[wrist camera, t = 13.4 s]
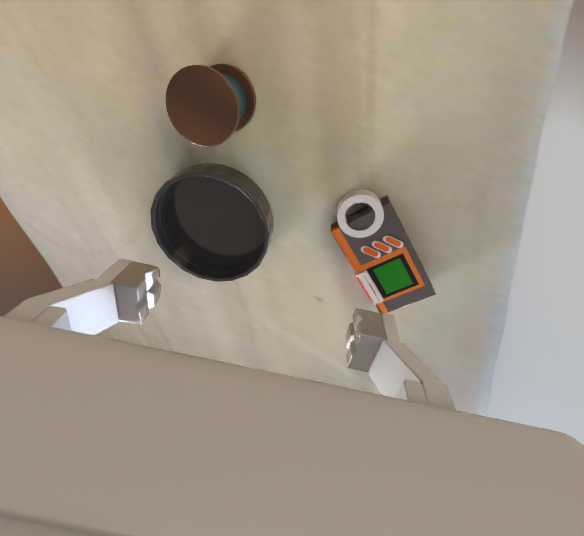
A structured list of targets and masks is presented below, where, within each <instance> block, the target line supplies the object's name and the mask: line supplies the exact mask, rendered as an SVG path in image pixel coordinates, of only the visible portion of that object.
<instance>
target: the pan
mask: <svg viewBox="0 0 584 536" xmlns="http://www.w3.org/2000/svg"><path fill="white" fill-rule="evenodd" d="M151 226H152V230H153V233H154V235H155V238H156V240H157V243H158V245H159V246H160V247H161V249H162V250H163V251H164V253H165V254H166V255H167V257H168V258H169V259H170V260H171V261H172V262H174V263H175V264H176V265H177V266H179V267H180V268H181V269H182V270H184V271H186V272H188V273H190V274H192V275H194V276H196V277H198V278H202V279H207V280H212V281H232V280H235V279H238V278H241V277H244V276H247V275H248V274H249V273H251V272H252V271H253V270H254V269H256V268H257V267H258V266H259V265H260V263H261V262H262V260H263V258H264V257H265V255H266V253H267V250H268V248H269V245H270V242H271V237H272V233H273V216H272V211H271V208H270V205H269V203H268V201H267V198H266V197H265V195H264V194H263V192H262V191H261V189H260V188H259V187H258V186H257V185H256V184H255V183H254V182H253V181H252V180H251V179H250V178H248V177H247V176H246V175H244V174H243V173H241V172H239V171H238V170H235V169H233V168H231V167H227V166H224V165H219V164H199V165H195V166H192V167H189V168H187V169H185V170H183V171H182V172H180V173H178V174H176V175H175V176H174V177H172V178H171V179H170V180H168V181H167V182H166V183H165V184H164V185H163V186H162V188H161V189H160V190H159V191H158V192H157V193H156V195H155V198H154V201H153V204H152V208H151Z"/></svg>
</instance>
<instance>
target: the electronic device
mask: <svg viewBox="0 0 584 536" xmlns="http://www.w3.org/2000/svg"><path fill="white" fill-rule="evenodd" d="M355 203H366V204H368V206H366V207H364V208H362V209H360V210H359V211H357V212H355V213H353V214H351V215H349V216H347V217H346V215H345V213H346V211H347V209H348V208H349V207H350V206H351V205H353V204H355ZM337 220H338V221H337V222H335V223H333V224H331V233H332V234H333V236H334V238H335V239H336V241H337V242H338V244H339V246H340V247H341V249H342V251H343V252H344V254H345V256H346V257H347V259H348V261H349V262H350V264H351V266H352V267H353V269H354V270H355V276H356V277H357V279H358V281H359V282H360V284H361V285H362V287H363V289H364V290H365V292H366V294H367V295H368V297H369V299H370V300H371V302H372V304H375V305H376V307H377V308H378V310H379V312H380V313H387V312H390V311H392V310H395V309H398V308H400V307H405V306H407V305H410V304H412V303H414V302H416V301H419V300H422V299H425V298H427V297H430V296H433V295H435V294H436V293H435V291H434V289H433V286H432V284H431V282H430V280H429V278H428V276H427V274H426V272H425V270H424V268H423V266H422V264H421V262H420V260H419V258H418V256H417V254H416V252H415V250H414V248H413V246H412V244H411V242H410V240H409V238H408V236H407V234H406V232H405V230H404V228H403V226H402V224H401V222H400V220H399V218H398V216H397V214H396V213H395V211H394V209H393V207H392V205H391V203H390V201H389V199H388V197H387V196H386V197H384V198H382V199H379V198H378V196H377V195H376V194H375V193H373V192H371V191H369V190H365V189H357V190H353V191H351V192H349V193H347V194H346V195H345V196H344V197H343V198H342V199H341V201H340V203H339V205H338V211H337Z"/></svg>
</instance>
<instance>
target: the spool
mask: <svg viewBox="0 0 584 536" xmlns="http://www.w3.org/2000/svg"><path fill="white" fill-rule="evenodd" d="M166 108H167V112H168V115H169V118H170V120H171V122H172V124H173V126H174V127H175V129H176V130H177V131H178V132H179V133H180V134H181V135H182V136H183V137H184V138H185V139H187V140H188V141H190V142H191V143H193V144H196V145H199V146H204V147H211V146H216V145H219V144H221V143H223V142H224V141H226V140H227V139H228V138H229V137H231V135H232V134H233V133H234V132H235V131H238V130H240V129H242V128H243V127H244V126H246V125H247V124H248V123H249V122H250V120H251V119H252V117H253V115H254V112H255V108H256V95H255V91H254V88H253V85H252V83H251V81H250V80H249V78H248V77H247V76H246V74H245V73H244V72H242V71H241V70H240V69H238V68H237V67H235V66H232V65H229V64H216V65H213V66H210V67H208V66H204V65H192V66H187V67H184V68H182V69H181V70H179V71H178V72H177V73H176V74H175V75H174V76H173V77H172V79H171V80H170V82H169V84H168V87H167V91H166Z"/></svg>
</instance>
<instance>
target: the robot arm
mask: <svg viewBox="0 0 584 536" xmlns="http://www.w3.org/2000/svg"><path fill="white" fill-rule="evenodd" d="M159 277H160V269H159V268H158V267H156V266H152V265H147V264H143V263H139V262H133V261H129V260H125V259H119V260H118V261H117V262H116V263H114V264H113V265H112V266H111V267H110V268H109V269H108V270H107V271H105V272H104V273H103V274H102V275H101V276H100V277H99V278H98V279H97V280H94V279H91V280H88V281H84V282H81V283H78V284H75V285H71V286H68V287H65V288H61V289H58V290H55V291H52V292H48V293H45V294H42V295H39V296H35V297H32V298H28V299H26V300H24V301H23V302H22V303H20V304H19V305H18V306H16V307H15V308H14V309H12V310H11V311H10V312H8V313H7V314H6V315H4V316H0V536H584V445H583V444H581V443H580V442H579V441H577V440H576V439H574V438H573V437H571V436H569V435H567V434H564V433H561V432H558V431H553V430H549V429H544V428H539V427H534V426H529V425H524V424H519V423H514V422H509V421H505V420H500V419H495V418H490V417H485V416H480V415H476V414H471V413H466V412H461V411H456V410H455V407H454V405H453V402H452V399H451V396H450V393H449V390H448V388H447V386H446V385H445V384H444V383H443V382H442V381H441V380H440V379H439V378H438V377H437V376H436V375H435V374H434V373H433V372H432V371H431V370H430V369H429V368H428V367H427V366H426V365H425V364H424V363H423V362H422V361H421V360H420V359H419V358H418V357H417V356H416V355H415V354H414V353H413V352H412V351H411V350H410V349H409V348H408V347H407V346H406V345H405V344H402V343H400V339H399V335H398V331H397V327H396V323H395V319H394V316H393V315H390V314H384V313H376V312H371V311H367V310H362V309H357V308H356V309H355V311H354V314H353V322H352V323H351V324H350V325H349V328H348V331H347V336H346V347H347V348H348V352H347V368H351V369H356V370H360V371H364V372H368V374H369V376H370V377H371V379H372V381H373V382H374V384H375V385H376V387H377V388H378V390H379V391H380V393H381V394H382V395H379V394H374V393H369V392H365V391H360V390H355V389H350V388H345V387H340V386H336V385H331V384H326V383H321V382H316V381H311V380H307V379H302V378H297V377H292V376H287V375H283V374H278V373H273V372H268V371H263V370H258V369H254V368H249V367H244V366H239V365H234V364H229V363H224V362H220V361H215V360H210V359H205V358H200V357H196V356H191V355H186V354H181V353H176V352H172V351H167V350H162V349H157V348H152V347H147V346H143V345H138V344H133V343H128V342H123V341H119V340H114V339H109V338H104V337H99V336H94V335H96V334H98V333H99V332H101V331H103V330H105V329H107V328H109V327H110V326H112V325H114V324H116V323H118V322H119V321H123V322H129V323H134V324H140V325H141V323H142V322H143V321H144V319H145V318H146V317H147V315H148V314H149V308H152V307H154V306H155V305H156V303H157V302H158V299H159V297H160V292H161V285H160V283H159V282H158V281H157V279H158V278H159Z"/></svg>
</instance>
